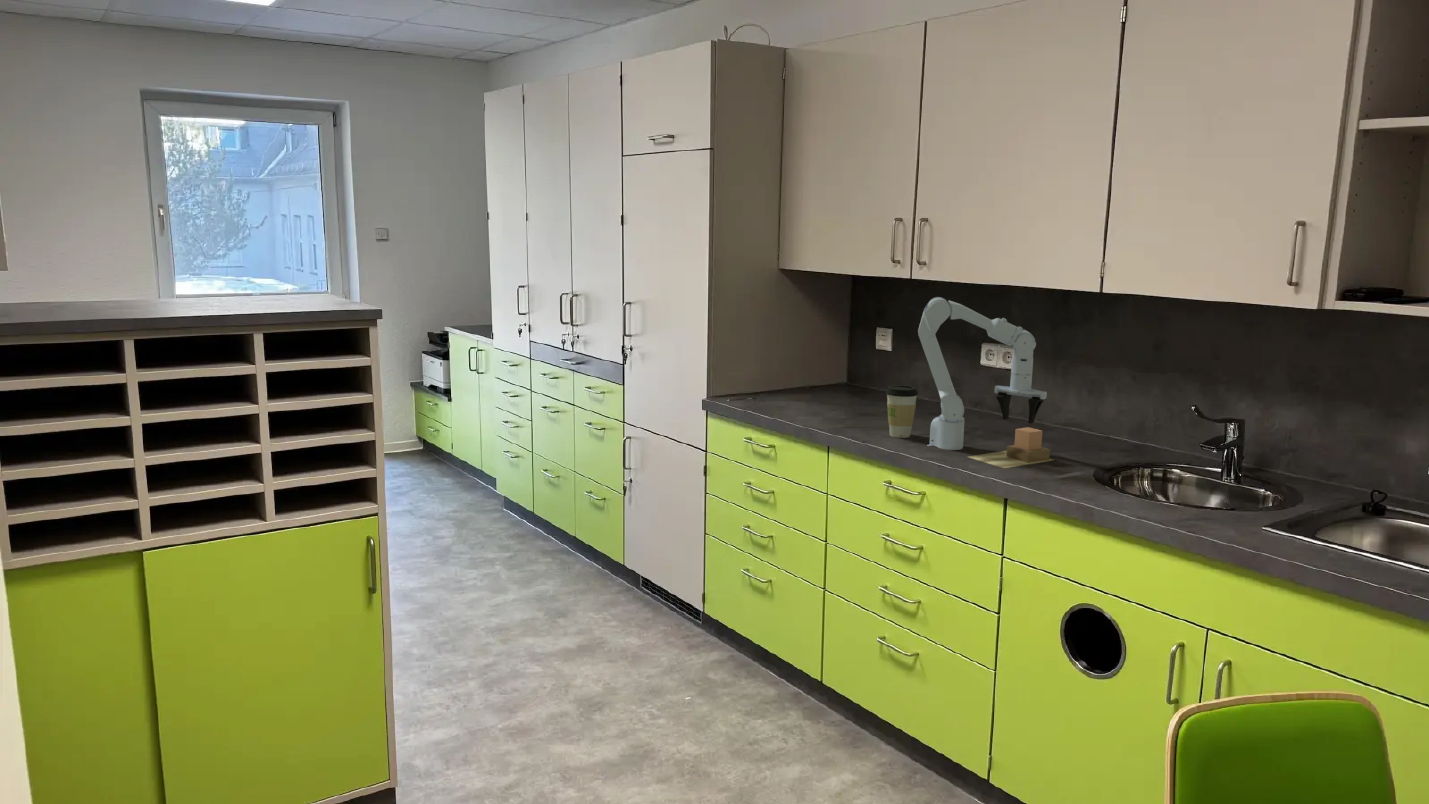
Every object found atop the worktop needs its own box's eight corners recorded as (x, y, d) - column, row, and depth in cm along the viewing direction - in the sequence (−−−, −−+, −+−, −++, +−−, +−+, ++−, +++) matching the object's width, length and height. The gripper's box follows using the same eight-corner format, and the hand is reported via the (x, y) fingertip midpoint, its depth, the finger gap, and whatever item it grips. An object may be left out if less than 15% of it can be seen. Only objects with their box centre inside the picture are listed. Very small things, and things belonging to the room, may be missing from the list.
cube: (1014, 446, 263) (1015, 429, 262) (1027, 444, 266) (1028, 427, 265) (1028, 450, 259) (1029, 432, 258) (1041, 448, 261) (1042, 430, 260)
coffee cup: (890, 430, 300) (892, 383, 297) (920, 434, 295) (923, 386, 292) (879, 436, 291) (881, 388, 288) (909, 440, 286) (912, 391, 284)
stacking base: (966, 459, 264) (967, 446, 263) (1015, 451, 273) (1016, 438, 272) (1004, 471, 252) (1005, 457, 251) (1054, 462, 261) (1055, 449, 260)
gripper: (991, 372, 269) (988, 419, 272) (1040, 378, 260) (1037, 426, 262) (1002, 369, 274) (999, 415, 277) (1051, 375, 265) (1047, 422, 268)
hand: (1018, 420), depth 270 cm, fingers open, 7 cm apart
